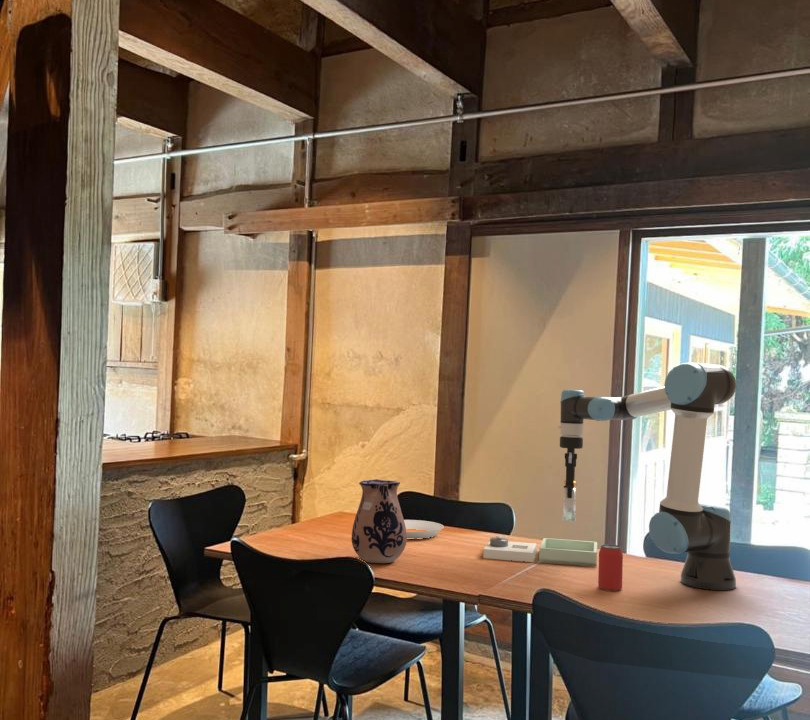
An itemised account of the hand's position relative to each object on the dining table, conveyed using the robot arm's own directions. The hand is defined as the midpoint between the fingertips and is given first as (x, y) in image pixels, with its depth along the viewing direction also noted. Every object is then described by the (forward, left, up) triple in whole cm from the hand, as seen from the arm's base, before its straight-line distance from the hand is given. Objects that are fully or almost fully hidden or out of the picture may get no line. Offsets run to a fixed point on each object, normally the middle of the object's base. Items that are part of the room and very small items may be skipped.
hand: (569, 506), depth 263 cm
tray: (0, 0, -17) cm, 17 cm away
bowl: (+20, +59, -18) cm, 65 cm away
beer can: (-36, -13, -17) cm, 42 cm away
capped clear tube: (0, 0, -5) cm, 5 cm away
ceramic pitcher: (-25, +59, -17) cm, 66 cm away
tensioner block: (-2, +19, -17) cm, 26 cm away
